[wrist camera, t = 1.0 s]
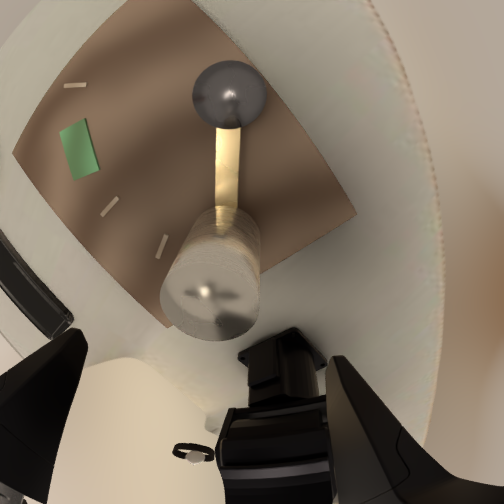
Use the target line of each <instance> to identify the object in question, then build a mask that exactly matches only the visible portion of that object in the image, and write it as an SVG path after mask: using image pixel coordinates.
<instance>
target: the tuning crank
mask: <svg viewBox="0 0 504 504" xmlns="http://www.w3.org/2000/svg"><path fill="white" fill-rule="evenodd" d="M266 98H267V90H266V85H265V82H264V80H263V78H262V76H261V75H260V73H259V72H258V71H257V70H256V69H254V68H253V67H252V66H250V65H248V64H246V63H244V62H241V61H235V60H226V61H221V62H217V63H215V64H213V65H211V66H209V67H207V68H206V69H205V70H204V71H203V72H202V73H201V74H200V75H199V76H198V78H197V80H196V81H195V84H194V87H193V91H192V100H193V105H194V108H195V110H196V112H197V114H198V115H199V116H200V117H201V119H202V120H204V121H205V122H206V123H208V124H209V125H211V126H213V127H216V128H217V133H216V175H215V207H213V208H210V209H208V210H206V211H205V212H203V213H202V214H201V215H200V216H199V217H198V218H197V220H196V221H195V223H194V225H193V226H192V228H191V230H190V232H189V234H188V236H187V238H186V239H185V241H184V243H183V245H182V247H181V249H180V251H179V253H178V255H177V257H176V258H175V260H174V262H173V264H172V266H171V268H170V270H169V272H168V274H167V276H166V278H165V280H164V282H163V284H162V287H161V290H160V303H161V307H162V309H163V312H164V313H165V315H166V317H167V318H168V319H169V321H170V322H171V323H172V324H173V325H174V326H176V327H177V328H178V329H179V330H181V331H182V332H184V333H186V334H188V335H190V336H192V337H195V338H198V339H202V340H208V341H225V340H230V339H234V338H236V337H239V336H241V335H243V334H244V333H246V332H247V331H248V330H249V329H250V328H251V327H252V326H253V325H254V323H255V322H256V320H257V317H258V314H259V290H260V231H259V228H258V226H257V224H256V222H255V221H254V220H253V218H252V217H251V216H250V215H249V214H247V213H246V212H244V211H243V210H241V209H238V189H239V166H240V144H241V127H243V126H246V125H248V124H249V123H251V122H252V121H254V120H255V119H256V118H257V117H258V116H259V115H260V113H261V112H262V110H263V108H264V106H265V103H266Z"/></svg>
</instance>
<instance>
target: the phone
mask: <svg viewBox="0 0 504 504" xmlns="http://www.w3.org/2000/svg"><path fill="white" fill-rule="evenodd" d="M0 287H1V289H2V290H3V291H4V292H5V293H6V295H7V296H8V297H9V298H10V299H11V301H12V302H13V303H14V304H15V305H16V306H17V307H18V308H19V310H20V311H21V312H22V313H23V314H24V315H25V316H26V317H27V318H28V319H29V320H30V321H31V322H32V323H33V324H34V325H35V326H36V327H37V328H38V329H39V330H40V331H41V332H42V333H43V334H44V335H45V336H46V337H47V338H48V339H50V340H53V339H55V338H56V337H58V336H59V335H61V334H62V333H63V332H64V331H65V330H66V329H67V328H68V327H69V326H70V325H71V323H72V322H73V320H74V317H73V315H72V313H71V312H70V311H69V310H68V309H67V308H66V307H65V306H64V305H63V304H62V303H61V302H60V301H59V299H58V298H57V297H56V296H55V295H54V294H53V293H52V292H51V291H50V290H49V289H48V288H47V287H46V286H45V284H44V283H43V282H42V281H41V280H40V279H39V278H38V277H37V275H36V274H35V273H34V272H33V271H32V270H31V268H30V267H29V266H28V265H27V264H26V262H25V261H24V260H23V259H22V257H21V256H20V255H19V254H18V252H17V251H16V250H15V248H14V247H13V246H12V244H11V243H10V242H9V240H8V239H7V238H6V236H5V235H4V233H3V232H2V231H1V229H0Z"/></svg>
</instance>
